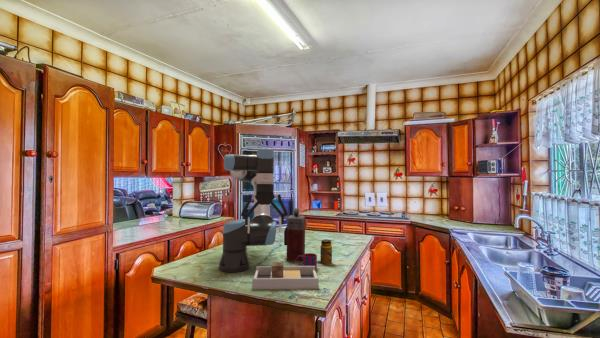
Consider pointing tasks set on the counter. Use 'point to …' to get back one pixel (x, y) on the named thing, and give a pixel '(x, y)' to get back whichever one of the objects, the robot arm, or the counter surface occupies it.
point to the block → (277, 269)
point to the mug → (309, 260)
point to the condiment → (326, 253)
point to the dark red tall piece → (295, 236)
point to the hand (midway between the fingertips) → (264, 232)
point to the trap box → (286, 278)
